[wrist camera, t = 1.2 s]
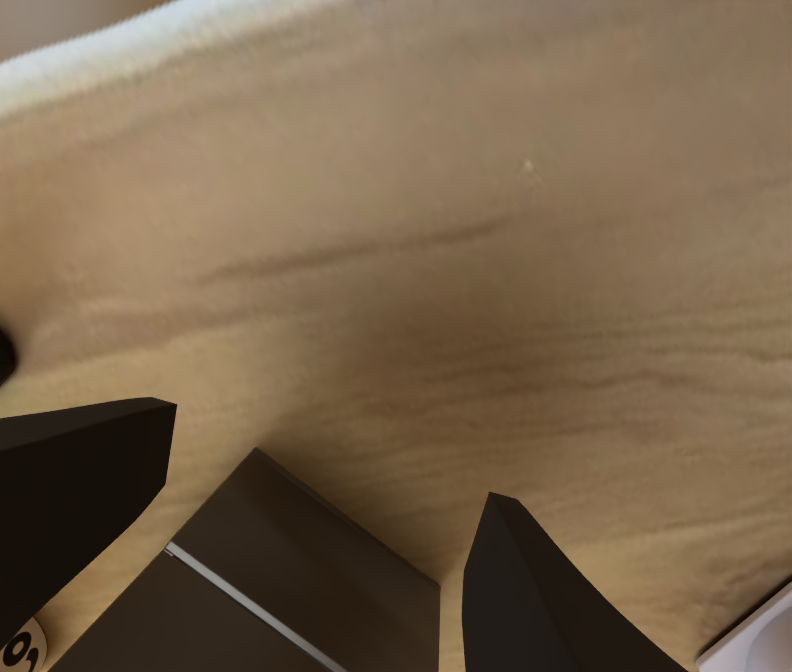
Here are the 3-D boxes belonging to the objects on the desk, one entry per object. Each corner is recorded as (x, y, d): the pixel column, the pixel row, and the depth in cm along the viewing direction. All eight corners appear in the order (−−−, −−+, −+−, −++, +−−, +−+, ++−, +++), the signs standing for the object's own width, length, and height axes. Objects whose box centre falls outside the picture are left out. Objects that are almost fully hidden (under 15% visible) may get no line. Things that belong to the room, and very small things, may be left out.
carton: (141, 598, 24) (24, 735, 18) (255, 446, 22) (170, 539, 15) (310, 721, 25) (258, 901, 18) (441, 586, 22) (437, 736, 16)
